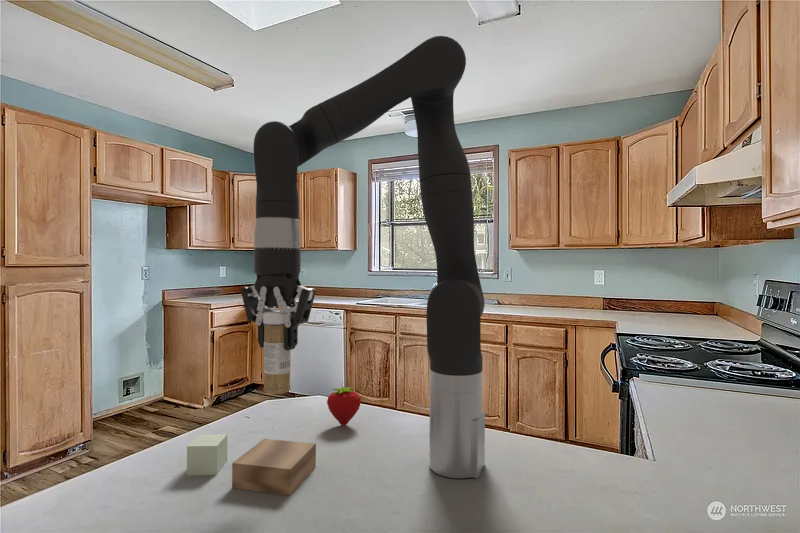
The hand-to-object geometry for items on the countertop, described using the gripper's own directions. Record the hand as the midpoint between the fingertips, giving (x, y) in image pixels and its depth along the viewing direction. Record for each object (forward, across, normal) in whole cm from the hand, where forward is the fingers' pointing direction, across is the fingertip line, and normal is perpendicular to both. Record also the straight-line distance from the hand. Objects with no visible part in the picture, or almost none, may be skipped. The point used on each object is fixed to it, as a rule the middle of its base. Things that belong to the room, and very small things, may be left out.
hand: (277, 347), depth 74 cm
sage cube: (+22, +13, +2) cm, 26 cm away
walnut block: (+22, 0, 0) cm, 22 cm away
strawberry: (+22, +1, -25) cm, 33 cm away
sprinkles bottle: (+7, 0, 0) cm, 7 cm away
